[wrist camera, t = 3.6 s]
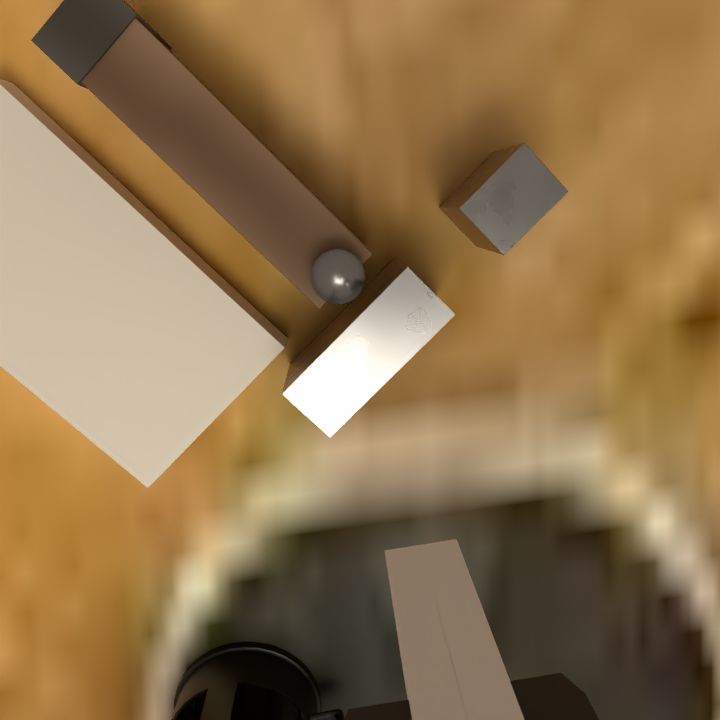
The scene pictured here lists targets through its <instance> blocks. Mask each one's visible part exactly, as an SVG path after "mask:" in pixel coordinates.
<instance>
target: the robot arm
mask: <svg viewBox="0 0 720 720" xmlns="http://www.w3.org/2000/svg"><path fill="white" fill-rule="evenodd" d="M385 556H386V562H387V569H388V576H389V582H390V589H391V595H392V602H393V608H394V615H395V621H396V628H397V634H398V641H399V647H400V654H401V660H402V667H403V673H404V679H405V685H406V691H407V698H408V700H404V701H398V702H391V703H385V704H379V705H373V706H367V707H360V708H354V709H349V710H348V712H347V714H346V717H345V719H344V720H599V719H598V717H597V715H596V713H595V711H594V709H593V707H592V705H591V704H590V702H589V700H588V698H587V696H586V694H585V693H584V692H583V691H581V690H580V689H579V688H578V687H577V686H576V685H574V684H573V683H572V682H571V681H570V680H569V679H568V678H566V677H565V676H564V675H563V674H562V673H558V674H552V675H545V676H539V677H533V678H527V679H521V680H514V681H510V680H509V677H508V675H507V672H506V669H505V667H504V664H503V661H502V659H501V656H500V654H499V651H498V648H497V646H496V643H495V640H494V638H493V635H492V632H491V630H490V627H489V624H488V622H487V619H486V616H485V614H484V611H483V609H482V606H481V603H480V601H479V598H478V595H477V593H476V590H475V587H474V585H473V582H472V579H471V577H470V574H469V572H468V569H467V566H466V564H465V561H464V558H463V556H462V553H461V550H460V548H459V545H458V542H457V540H456V539H455V540H449V541H442V542H436V543H430V544H423V545H417V546H411V547H404V548H398V549H392V550H386V551H385Z"/></svg>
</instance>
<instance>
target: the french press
mask: <svg viewBox="0 0 720 720" xmlns="http://www.w3.org/2000/svg"><path fill="white" fill-rule="evenodd" d="M237 685H254V686H258V687H263V688H267V689H269V690H272V691H274V692H277V693H279V694H281V695H282V696H284V697H286V698H287V699H289V700H290V701H291V702H293V703H294V704H295V705H296V706H297V707H298V708H299V709H300V710H301V716H300V720H344V715H343V712H342V710H340V709H335V710H330V711H325V712H321V698H320V691H319V689H318V686H317V684H316V681H315V679H314V677H313V676H312V674H311V673H310V671H309V670H308V668H307V667H305V666H304V665H303V664H302V663H301V662H300V661H299V660H298V659H297V658H295V657H294V656H292V655H291V654H289V653H288V652H286V651H284V650H281V649H279V648H276V647H274V646H270V645H266V644H261V643H247V642H244V643H235V644H229V645H226V646H222V647H219V648H216V649H214V650H212V651H210V652H208V653H206V654H205V655H203V656H202V657H201V658H199V659H198V660H197V661H196V662H194V663H193V664H192V665H191V667H190V668H189V669H188V670H187V671H186V672H185V674H184V675H183V677H182V679H181V681H180V683H179V685H178V688H177V691H176V695H175V699H174V713H173V716H172V719H171V720H196V717H195V712H194V702H195V698H196V697H198V696H200V695H202V694H204V693H206V692H207V695H206V699H205V702H204V706H203V710H202V714H201V718H200V720H231V716H232V710H233V705H234V700H235V695H236V690H237Z"/></svg>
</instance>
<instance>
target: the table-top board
mask: <svg viewBox="0 0 720 720" xmlns="http://www.w3.org/2000/svg"><path fill="white" fill-rule="evenodd" d="M287 340H288V338H287V337H286V336H284V335H283V334H282V333H281V332H280V331H279V330H278V329H277V328H276V327H275V326H274V325H273V324H272V323H270V322H269V321H268V320H267V319H266V318H265V317H264V316H263V315H262V314H261V313H260V312H259V311H258V310H257V309H255V308H254V307H253V306H252V305H251V304H250V303H249V302H248V301H247V300H246V299H245V298H244V297H243V296H241V295H240V294H239V293H238V292H237V291H236V290H235V289H234V288H233V287H232V286H231V285H230V284H229V283H227V282H226V281H225V280H224V279H223V278H222V277H221V276H220V275H219V274H218V273H217V272H216V271H215V270H214V269H212V268H211V267H210V266H209V265H208V264H207V263H206V262H205V261H204V260H203V259H202V258H201V257H200V256H198V255H197V254H196V253H195V252H194V251H193V250H192V249H191V248H190V247H189V246H188V245H187V244H186V243H185V242H183V241H182V240H181V239H180V238H179V237H178V236H177V235H176V234H175V233H174V232H173V231H172V230H171V229H169V228H168V227H167V226H166V225H165V224H164V223H163V222H162V221H161V220H160V219H159V218H158V217H157V216H155V215H154V214H153V213H152V212H151V211H150V210H149V209H148V208H147V207H146V206H145V205H144V204H143V203H142V202H140V201H139V200H138V199H137V198H136V197H135V196H134V195H133V194H132V193H131V192H130V191H129V190H128V189H126V188H125V187H124V186H123V185H122V184H121V183H120V182H119V181H118V180H117V179H116V178H115V177H114V176H112V175H111V174H110V173H109V172H108V171H107V170H106V169H105V168H104V167H103V166H102V165H101V164H100V163H99V162H97V161H96V160H95V159H94V158H93V157H92V156H91V155H90V154H89V153H88V152H87V151H86V150H85V149H83V148H82V147H81V146H80V145H79V144H78V143H77V142H76V141H75V140H74V139H73V138H72V137H71V136H69V135H68V134H67V133H66V132H65V131H64V130H63V129H62V128H61V127H60V126H59V125H58V124H57V123H56V122H54V121H53V120H52V119H51V118H50V117H49V116H48V115H47V114H46V113H45V112H44V111H43V110H42V109H40V108H39V107H38V106H37V105H36V104H35V103H34V102H33V101H32V100H31V99H30V98H29V97H28V96H26V95H25V94H24V93H23V92H22V91H21V90H20V89H19V88H18V87H17V86H16V85H15V84H14V83H11V82H8V81H5V80H3V79H0V366H1V367H2V368H3V369H5V370H6V371H7V372H8V373H9V374H11V375H12V376H13V377H14V378H15V379H17V380H18V381H19V382H20V383H21V384H23V385H24V386H25V387H26V388H28V389H29V390H30V391H31V392H32V393H34V394H35V395H36V396H37V397H38V398H40V399H41V400H42V401H43V402H44V403H46V404H47V405H48V406H49V407H51V408H52V409H53V410H54V411H55V412H57V413H58V414H59V415H60V416H61V417H63V418H64V419H65V420H66V421H68V422H69V423H70V424H71V425H72V426H74V427H75V428H76V429H77V430H78V431H80V432H81V433H82V434H83V435H84V436H86V437H87V438H88V439H89V440H91V441H92V442H93V443H94V444H95V445H97V446H98V447H99V448H100V449H101V450H103V451H104V452H105V453H106V454H107V455H109V456H110V457H111V458H112V459H114V460H115V461H116V462H117V463H118V464H120V465H121V466H122V467H123V468H124V469H126V470H127V471H128V472H129V473H131V474H132V475H133V476H134V477H135V478H137V479H138V480H139V481H140V482H141V483H143V484H144V485H145V486H146V487H147V488H148V487H149V486H150V485H151V484H152V483H153V482H154V481H155V480H156V479H157V478H158V477H159V476H160V475H161V474H162V473H163V472H164V471H165V470H166V469H167V468H168V467H169V466H170V465H171V464H172V463H173V462H174V461H175V460H176V459H177V458H178V457H179V456H180V455H181V454H182V453H183V452H184V451H185V449H186V448H187V447H188V446H189V445H190V444H191V443H192V442H193V441H194V440H195V439H196V438H197V437H198V436H199V435H200V434H201V433H202V432H203V431H204V430H205V429H206V428H207V427H208V426H209V425H210V424H211V423H212V422H213V421H214V420H215V419H216V418H217V417H218V416H219V415H220V414H221V413H222V412H223V411H224V410H225V409H226V408H227V406H228V405H229V404H230V403H231V402H232V401H233V400H234V399H235V398H236V397H237V396H238V395H239V394H240V393H241V392H242V391H243V390H244V389H245V388H246V387H247V386H248V385H249V384H250V383H251V382H252V381H253V380H254V379H255V378H256V377H257V376H258V375H259V374H260V373H261V372H262V371H263V370H264V369H265V368H266V367H267V366H268V364H269V363H270V362H271V361H272V360H273V359H274V358H275V357H276V356H277V355H278V354H279V353H280V352H281V351H282V350H283V349H284V348H285V346H286V343H287Z"/></svg>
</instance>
